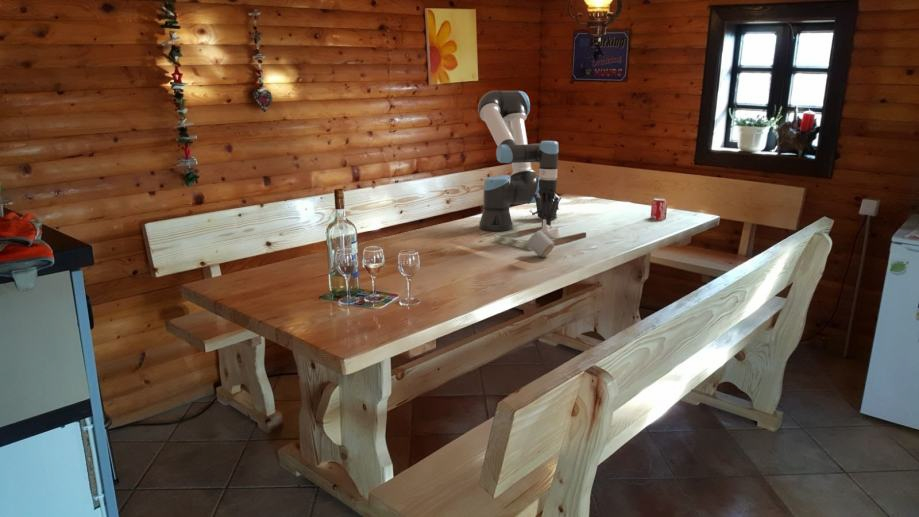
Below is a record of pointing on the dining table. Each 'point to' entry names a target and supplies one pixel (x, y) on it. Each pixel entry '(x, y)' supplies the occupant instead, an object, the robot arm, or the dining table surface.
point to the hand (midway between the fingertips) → (545, 234)
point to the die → (550, 232)
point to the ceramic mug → (540, 244)
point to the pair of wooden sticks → (510, 240)
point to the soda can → (658, 209)
